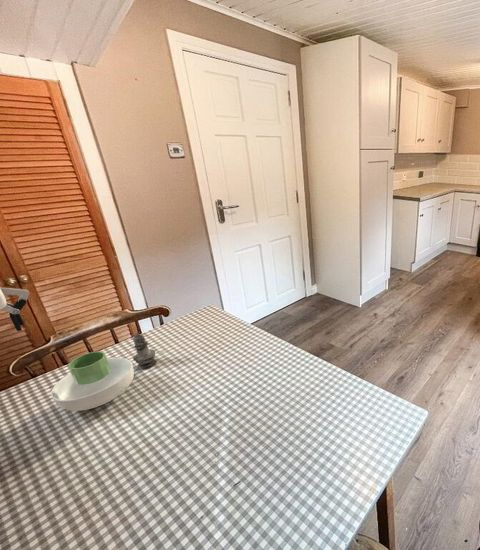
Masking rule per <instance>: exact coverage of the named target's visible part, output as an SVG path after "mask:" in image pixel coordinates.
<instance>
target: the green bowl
mask: <svg viewBox="0 0 480 550" xmlns="http://www.w3.org/2000/svg"><path fill="white" fill-rule="evenodd" d="M107 359H108V358H107V355H106V352H104V351H101V350H100V351H99V350H98V351H91V352H87V353H83V354H82V355H80V356H77V357H75V358H74V359H72V360H71V361H70V362H69V363H68V365H67V368H68V370H69V373H71V375H72V377H73V379H74V381H75V383H77V384H79V385H85V384H90V383H94V382H97V381H99V380H101V379H102V378H104V377H105V376H106V375H108V374H109V373H110V371H111V368H110V365H109V362H108V360H107Z"/></svg>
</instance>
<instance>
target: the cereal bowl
mask: <svg viewBox="0 0 480 550" xmlns="http://www.w3.org/2000/svg"><path fill="white" fill-rule="evenodd" d="M107 360H108V362H109V365H110V368H111V371H110V373H109V374H108V375H106V376H105V377H104V378H102V379H101V380H99V381H97V382H94V383H90V384H85V385H79V384H77V383H75V381H74V379H73V377H72V375H71V372H69V373H68V374H67V375H65V376H63V377H62V378H61V379H60V380H58V382H56V384H55V385H54V386H53V388H52V389H51V392H50V397H51V398H52V400H53V402H54V403H55V405H57V406H58V407H59V408H61V409H63V410H66V411H70V412H71V411H72V412H81V411H87V410H91V409H94V408H97V407H100V406H103V405H106V404H107V403H109V402H111V401H112V400H115V399H116V398H117V397H119V396H120V395H122V394H123V393H124V392H125V391H126V390H127V389H128V388H129V386H130V385H131V383H132V382H133V380H134V376H135V370H134V369H135V368H134V365H133V363H132V361H131V360H130V359H127V358H124V357H111V358H107Z"/></svg>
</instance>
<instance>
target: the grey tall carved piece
mask: <svg viewBox="0 0 480 550" xmlns="http://www.w3.org/2000/svg"><path fill="white" fill-rule="evenodd" d="M132 340H133V343H134V346H133V348H134V349H135V350H136V354H134V356H133V357H132V359H133V361H135V363H137V370H141V371H142V370H147V368H148V369H151V368H152V367H154V366H155V365H157V363H158V360H157V359H156V358H155V356H156V350H154V349H150V348H149V346H148V345H149V342H148V341H147V340H146V338H145V335H144V334H143V333H139V332H136V333H135V335H134V336H133V337H132Z"/></svg>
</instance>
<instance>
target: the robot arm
mask: <svg viewBox="0 0 480 550" xmlns="http://www.w3.org/2000/svg"><path fill="white" fill-rule="evenodd" d="M6 295H7V296H18V298H17V300H16V301H15V303H10V302H7V297H6ZM29 295H30V291H29V290H28V289H25V288H13V287H2V286H0V311H3V312H6V313H8V315H9V318H10V320H11V322H12V324H13V326H14V328H15V330H16V331H17V332H21V331H22V330H23V329H22V326H25V321H24V320H23V318H22V315H21V314H20V313H21V311H22V309H23V308H24V307H25V306H26V304H27V303H28V302H27V301H28V299H29Z"/></svg>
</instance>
